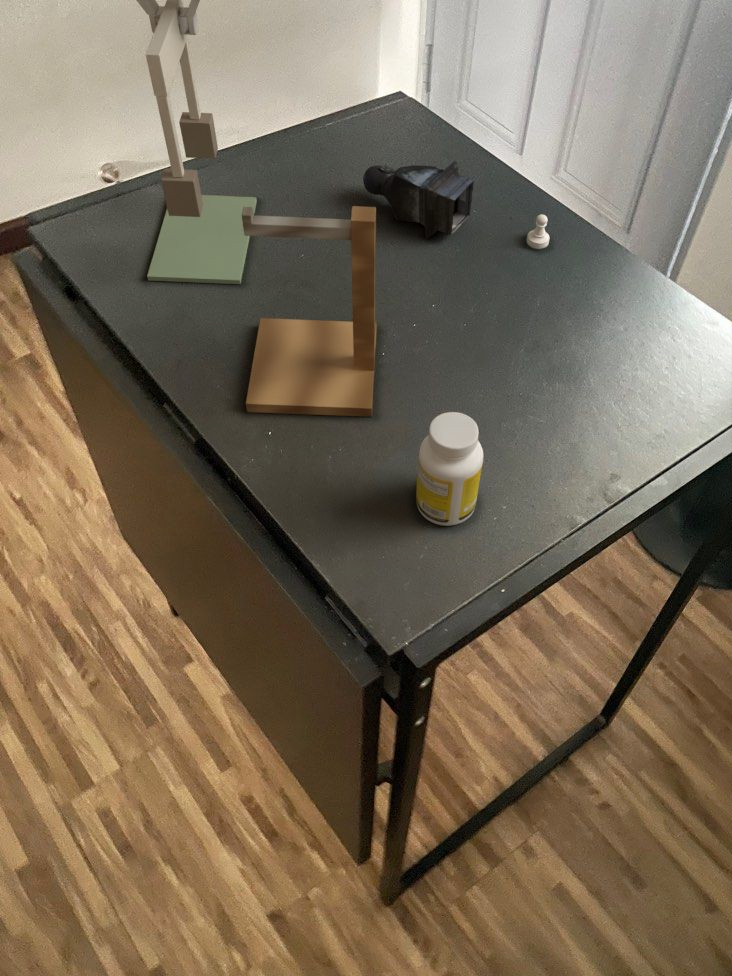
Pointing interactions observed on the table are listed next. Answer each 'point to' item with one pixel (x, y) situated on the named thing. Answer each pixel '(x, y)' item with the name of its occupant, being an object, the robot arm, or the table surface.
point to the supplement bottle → (449, 469)
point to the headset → (193, 124)
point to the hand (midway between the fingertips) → (176, 31)
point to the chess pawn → (539, 234)
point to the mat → (203, 243)
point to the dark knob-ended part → (424, 195)
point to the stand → (319, 330)
